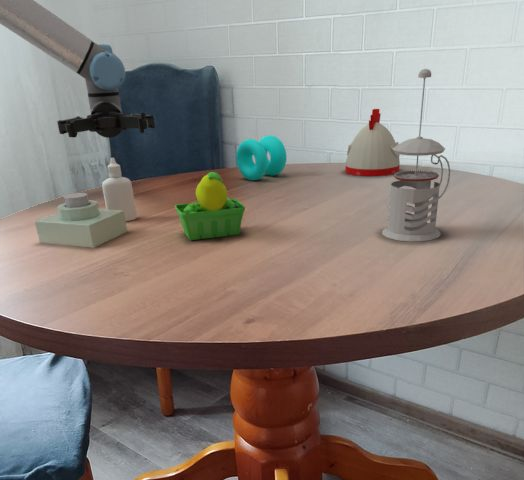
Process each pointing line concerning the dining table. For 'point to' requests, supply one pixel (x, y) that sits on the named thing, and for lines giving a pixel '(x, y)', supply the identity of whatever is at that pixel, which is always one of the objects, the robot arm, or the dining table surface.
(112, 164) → the eye dropper bottle
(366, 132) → the kitchen timer
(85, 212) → the push button box
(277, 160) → the donuts
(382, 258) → the dining table surface
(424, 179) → the french press
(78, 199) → the grayish pink short cylinder
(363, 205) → the dining table surface
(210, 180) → the fruit basket
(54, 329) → the dining table surface
